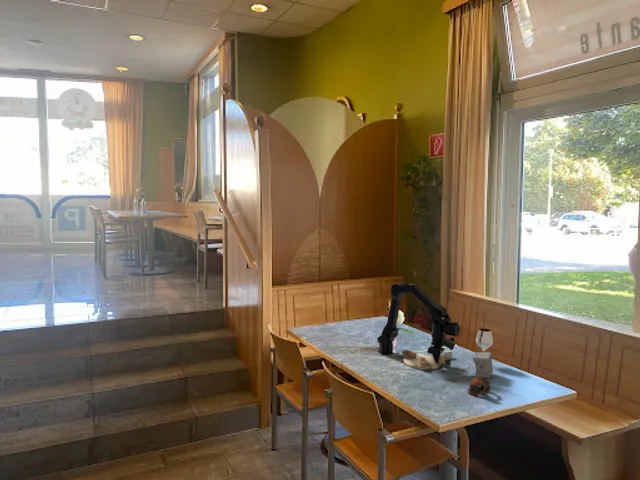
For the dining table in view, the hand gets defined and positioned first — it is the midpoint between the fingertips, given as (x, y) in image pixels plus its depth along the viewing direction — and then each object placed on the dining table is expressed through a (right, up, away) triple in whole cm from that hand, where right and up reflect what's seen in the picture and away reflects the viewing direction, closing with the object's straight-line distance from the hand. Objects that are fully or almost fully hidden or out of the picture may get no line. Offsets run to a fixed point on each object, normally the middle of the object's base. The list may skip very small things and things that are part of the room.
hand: (437, 362), depth 237 cm
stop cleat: (+9, -1, +15) cm, 18 cm away
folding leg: (+3, -1, +5) cm, 6 cm away
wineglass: (+25, -3, +7) cm, 26 cm away
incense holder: (+20, -4, -8) cm, 22 cm away
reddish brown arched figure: (+11, -6, -29) cm, 32 cm away
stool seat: (-6, -2, +7) cm, 10 cm away
